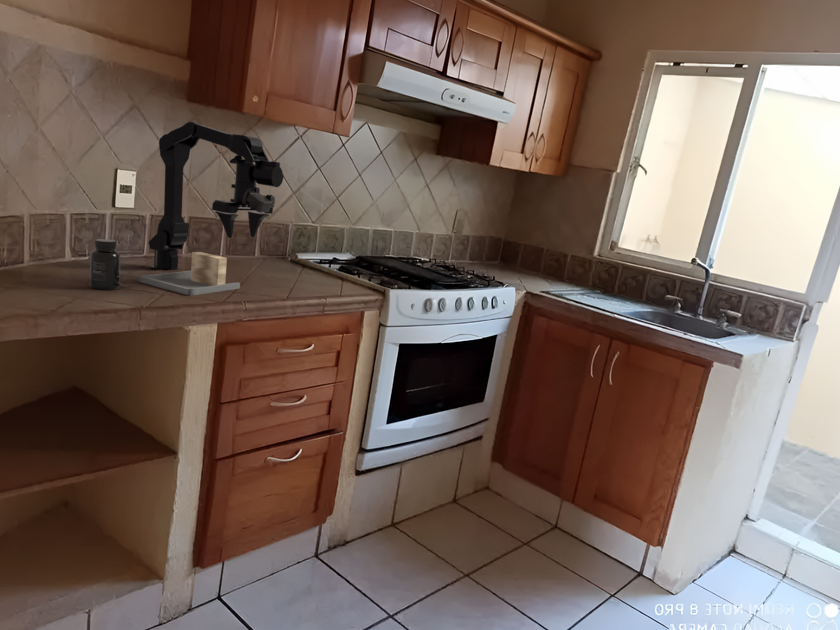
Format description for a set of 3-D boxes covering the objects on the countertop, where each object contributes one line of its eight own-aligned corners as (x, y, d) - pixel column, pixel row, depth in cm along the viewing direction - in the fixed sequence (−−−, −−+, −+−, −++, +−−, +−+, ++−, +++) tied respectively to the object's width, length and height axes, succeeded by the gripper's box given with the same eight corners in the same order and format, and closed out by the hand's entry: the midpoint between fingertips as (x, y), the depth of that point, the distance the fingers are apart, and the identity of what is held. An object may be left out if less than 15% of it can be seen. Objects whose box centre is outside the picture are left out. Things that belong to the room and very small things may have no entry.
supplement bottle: (125, 289, 158) (126, 242, 156) (99, 291, 153) (100, 243, 150) (109, 283, 162) (110, 237, 159) (83, 285, 156) (84, 238, 153)
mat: (138, 283, 166) (138, 276, 166) (189, 277, 182) (190, 270, 182) (190, 297, 158) (191, 290, 158) (239, 290, 174) (240, 283, 174)
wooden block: (190, 280, 176) (192, 252, 174) (198, 279, 178) (200, 251, 177) (217, 287, 172) (219, 258, 170) (225, 286, 174) (226, 258, 173)
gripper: (244, 184, 162) (239, 243, 166) (289, 187, 179) (284, 241, 182) (212, 178, 167) (208, 236, 170) (259, 182, 183) (255, 234, 187)
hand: (241, 237), depth 177 cm, fingers open, 9 cm apart
